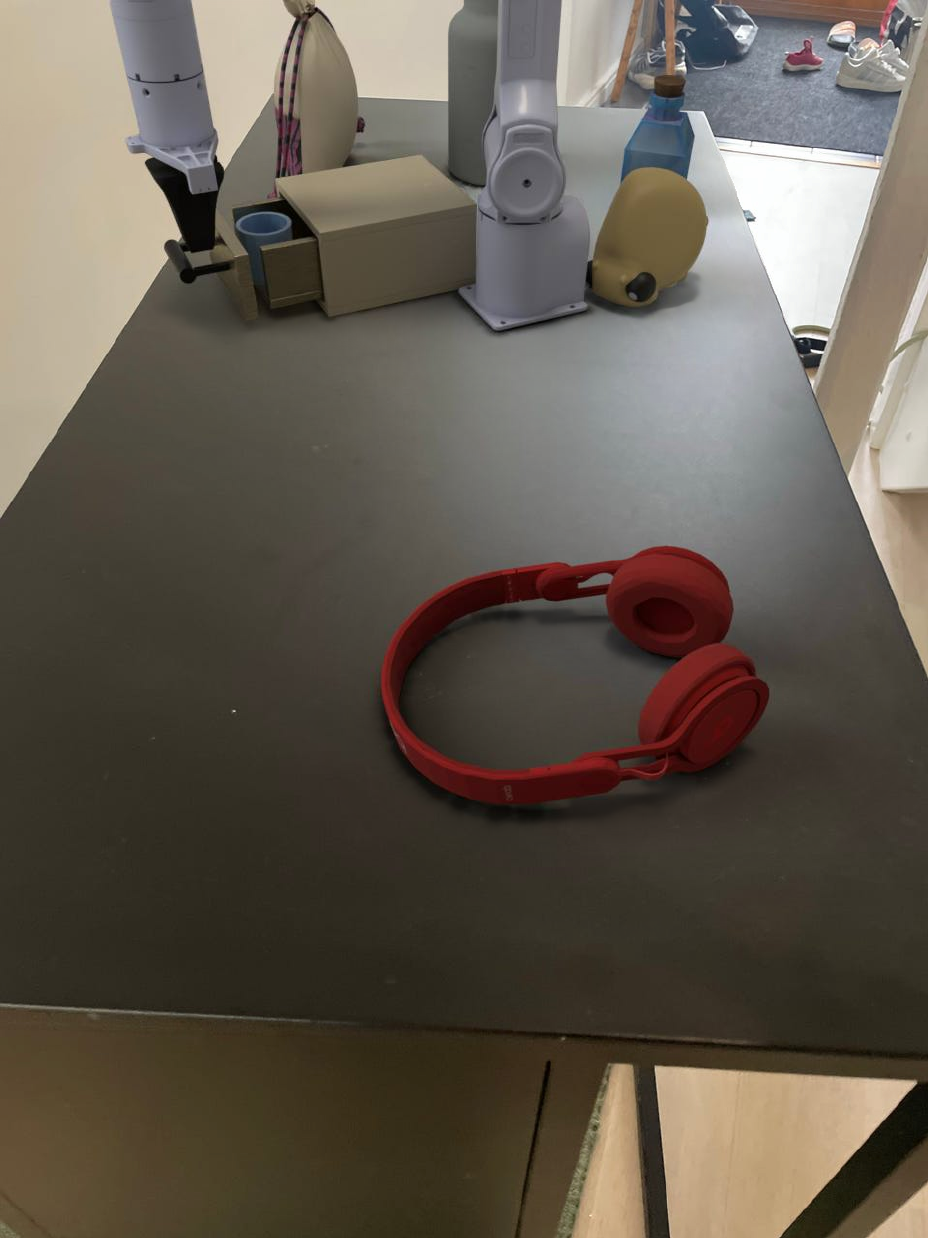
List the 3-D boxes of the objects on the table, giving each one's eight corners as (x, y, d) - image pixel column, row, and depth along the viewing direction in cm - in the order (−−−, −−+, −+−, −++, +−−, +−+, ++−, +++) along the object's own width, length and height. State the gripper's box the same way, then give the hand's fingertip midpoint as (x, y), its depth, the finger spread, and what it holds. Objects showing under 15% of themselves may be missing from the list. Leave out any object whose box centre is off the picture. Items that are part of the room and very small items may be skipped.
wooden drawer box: (328, 317, 81) (319, 232, 76) (285, 258, 89) (274, 178, 84) (475, 285, 86) (477, 203, 80) (422, 232, 93) (420, 154, 88)
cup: (288, 256, 85) (281, 207, 82) (304, 278, 82) (298, 229, 79) (238, 266, 84) (229, 217, 80) (252, 289, 81) (244, 239, 77)
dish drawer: (196, 332, 78) (182, 266, 73) (166, 275, 85) (151, 212, 80) (390, 291, 83) (387, 227, 79) (346, 240, 90) (341, 179, 86)
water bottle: (455, 151, 109) (456, -154, 88) (536, 156, 108) (556, -151, 87) (442, 185, 102) (439, -138, 81) (529, 191, 101) (548, -134, 81)
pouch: (317, 140, 111) (298, -51, 97) (383, 144, 110) (374, -47, 96) (255, 227, 94) (220, 11, 80) (332, 233, 93) (311, 16, 79)
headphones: (709, 593, 57) (394, 639, 58) (717, 507, 52) (371, 558, 53) (783, 797, 47) (400, 848, 48) (802, 714, 42) (372, 774, 43)
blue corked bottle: (683, 195, 100) (706, 73, 92) (674, 218, 96) (696, 92, 88) (628, 187, 102) (645, 67, 93) (616, 209, 98) (632, 85, 89)
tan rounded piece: (592, 307, 90) (544, 263, 81) (650, 191, 88) (608, 132, 79) (675, 340, 85) (635, 297, 76) (739, 218, 83) (705, 158, 74)
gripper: (93, 50, 72) (136, 222, 82) (130, 108, 63) (173, 293, 73) (182, 40, 74) (213, 209, 84) (230, 95, 65) (259, 277, 75)
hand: (200, 248), depth 79 cm, fingers closed
